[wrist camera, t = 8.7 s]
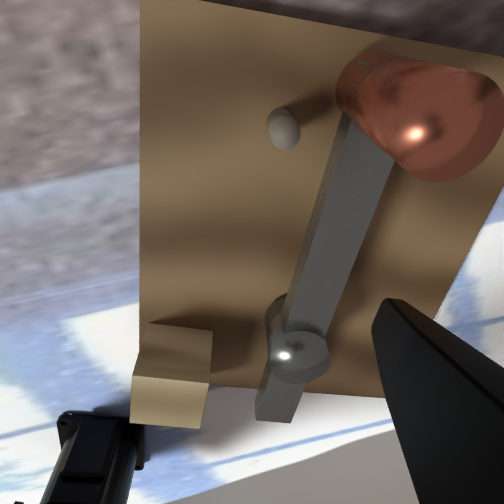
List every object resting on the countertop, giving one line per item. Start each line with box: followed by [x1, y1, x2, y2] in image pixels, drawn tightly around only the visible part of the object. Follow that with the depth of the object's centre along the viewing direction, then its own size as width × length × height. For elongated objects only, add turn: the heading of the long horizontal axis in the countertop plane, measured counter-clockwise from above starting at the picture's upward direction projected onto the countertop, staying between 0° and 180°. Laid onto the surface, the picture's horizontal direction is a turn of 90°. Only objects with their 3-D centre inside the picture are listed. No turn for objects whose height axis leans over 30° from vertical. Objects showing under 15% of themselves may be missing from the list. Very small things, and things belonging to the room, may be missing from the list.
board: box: [139, 0, 504, 398], centre depth 20 cm, size 22×18×4 cm
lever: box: [255, 51, 504, 423], centre depth 17 cm, size 20×3×8 cm, turn 169°
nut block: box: [130, 323, 213, 429], centre depth 23 cm, size 4×4×4 cm
